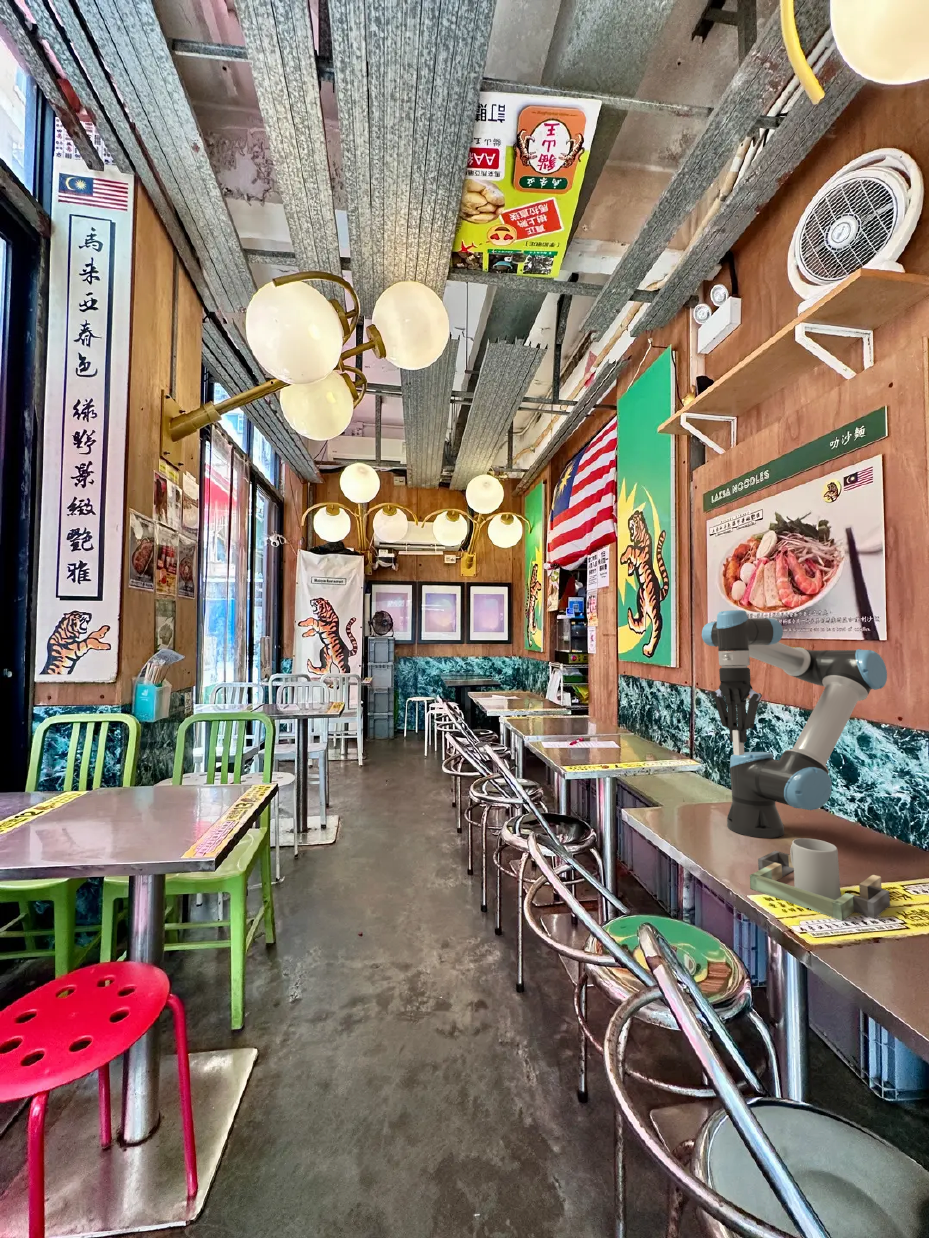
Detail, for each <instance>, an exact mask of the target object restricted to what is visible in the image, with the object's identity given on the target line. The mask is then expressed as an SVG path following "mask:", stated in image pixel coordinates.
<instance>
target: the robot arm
mask: <svg viewBox="0 0 929 1238" xmlns="http://www.w3.org/2000/svg"><path fill="white" fill-rule="evenodd" d="M783 636H784V628H783V625H782V624H781V623H780V621H778V620H777V619H775V618H770V617H769V618H768V617H762V618H760V617H755V618H754V617H753V618H752V617H751V618H750V617H748V613H747V611H745V610H744V609H743V610H741V609H737V610H734V609H733V610H724V611H723V610H722V611H719V612H718V613H717V614H716V621H712V622H707V623H706V624H704V626H703V627H702V630H701V638H702V641H703V642H704V644H705V645H707V646H710V647H715V648H716V647H717V648H718V649H717V650H718V654H717V655H718V665H719V666H720V667H719V669H718V671H719V672H718V673H719V674H718V675H719V681H720V684H719V686H718V689H716V690H715V691H711V693H710V695H711V696H712V698H713V700H714V702H715V705H716V709H717V712H718V715H719V716H718V717H719V719H720V723H721V726H722V727H723V728H724V727H725V728H727V729H728V731H729V740H730V742H732V743H733V745H732V747H733V750H732V751H733V754H731V756H730V759H729V760H730V761H729V762H730V764H729V772H730V773H729V774H730V787H731V803H730V808H729V811H728V814H727V817H726V827H727V828H728V829H729V830H730V831H732V832H734V833H737V834H740V835H743V836H747V837H754V838H762V839H765V838H767V839H768V838H769V839H770V838H771V839H772V838H779V837H783V836H784V835H785V829H784V828H785V826H784V824H783V821H782V818H781V816H780V815H781V814H780V813H779V811H778V808H777V804H776V803H779V804H783V805H787V806H789V807H792V808H794V809H799V810H805V811H806V810H807V811H813V810H815V811H816V810H818V809H821V808H822V807H823V806H825V804H826V803H827V802H828V801H829V799H830V797H831V794H832V791H833V789H832V788H831V787H832V786H833V784H832V779H831V777H830V775H829V773H830V771H829V769H828V766H827V762H828V761H829V759H830V757H831V754H832V752H833V751H834V749H835V747H836V745H837V743H838V741H839V739H840V737H841V735H842V733H843V731H844V729H845V728H846V726H847V724H848V721H849V719H850V718H851V715H852V713H853V711H854V709H855V707H856V705H857V704H858V702H861V701H864V700H866V699H867V698H868V696H869V694H870V692H871V690H873V691H877V690H879V689H880V690H881V689H882V688H883V687H885V686H886V684H887V681H888V680H887V679H888V673H887V672H888V671H887V666H886V663H885V660H884V659H883V658H882V656H881V655H880V654H879V653H878V652H877V651H874V650H871V649H862V648H858V649H855V650H854V649H846V650H845V649H833V650H832V649H831V650H830V649H827V650H826V649H821V650H820V649H819V650H817V649H816V650H815V649H814V650H813V649H806V648H803V647H800V646H799V647H798V646H797V647H792V646H790V645H788V644H784V643H782V642H780V641H781V639H782V638H783ZM750 658H751V659H752V658H753V659H755V660H757V661H760V662H762V663H765V664H768V665H770V666H772V667H773V666H774V667H776V668H779V669H781V670H782V671H783V672H784V673H785V674H786V675H788V676H791V677H793V678H796V679H798V680H801V681H805V682H807V683H809V684H813V685H816V686H821V687H824V689H823V691H822V693H821V695H820V696H819V699H818V701H817V702H816V704H815V706H814V708H813V709H812V712H811V713H810V716H809V717H808V719H807V720H806V723H805V725H804V726H803V729H802V730H801V732H800V734H799V736H798V737H797V740H796V742H795V744H794V745H793V747H792V748H791V749H785V750H784V751H783V753H782V755H781V757H780V758H779V760H777V759H775V758H774V755H773V753H771V752H769V751H768V752H766V751H745V743H747V741H748V739H747V730H751V729H754V726H755V721H756V716H757V711H758V707H759V706H758V705H759V701H760V700H761V699H762V697H763V694H762V693H760V692H756V691H755V690H754V689H753V686H752V684H751V678H752V677H751V668H749V667H748V666H750V665H751V662H750ZM748 698H749V701H748V706H747V699H748ZM746 706H747V707H746Z"/></svg>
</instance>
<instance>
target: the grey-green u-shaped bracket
mask: <svg viewBox="0 0 929 1238" xmlns="http://www.w3.org/2000/svg"><path fill="white" fill-rule="evenodd" d="M757 865H758V867H757V868H758V870H757V871H756V872H755V871H754V872H753V873H751V874H749V884H750V885H749V886H750V890H753V891H756V892H758V893H762V894H764V895H768V896H770V897H774V898H777V899H779V900H781V901H784V902H787V901H788V903H790V904H793V905H797V906H800V907H802V908H804V909H807V908H809V909H808V910H810V909H811V910H810V911H813V910H814V911H813V912H816V911H817V912H816V913H819V912H820V913H819V914H821V915H824V914H827V915H828V917H830V916H831V918H834V919H836V920H838V921H843V920H845V919H846V918H847V917H849V916H851V915H852V914H853V913H856V914H860V915H862V916H865V917H868V918H870V919H871V918H872V919H876V918H877V917H878V916H879V915H881V914H882V913H883V912H884V911H886V910H887V909H888V908H889V907H890V906H891V902H890V901H891V897H890V891H889V890H887V889H883V888H882V887H883V886H882V877H881V876H880V875H875V874H872V875H870V876H869V877H867V878H866V879H865V880H863V881H861V882H860V883H859V884H858V885H859V886H858V888H859V896H858V895H855V894H851V893H849V892H848V893H847V892H846V893H844V894H843V895H842V894H841V897H840V898H838V899H837V900H833V899H830V898H827V897H824V896H821V895H818V894H815V893H812V892H809V891H805V890H802V889H799V888H796V887H795V886H794V885H789V884H786V883H784V882H780V881H778V880H780V879H782V878H784V877H785V876H787V875H789V874H791V873H794V868H793V866H792V862H791V855H790V854H789V853H785V852H781V851H779V850H774V851H772V852H769V853H767V854H765V855H763V856H761V857H759V858H757ZM827 915H826V916H827Z"/></svg>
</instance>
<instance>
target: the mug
mask: <svg viewBox="0 0 929 1238" xmlns="http://www.w3.org/2000/svg"><path fill="white" fill-rule="evenodd" d="M791 843H792V844H791V845H790V852H789V853H790V854H789V855H791V862H792V866H793V868H794V871H793V878H794V879H793V881H794V883H793V884H794V885H793V887H796V888H799V889H802V890H805V891H809V892H812V893H815V894H818V895H821V896H824V897H827V898H830V899H833V900H837V899H838V898H840V897H841V896H842V894H841V892H842V891H841V883H840V882H841V881H840V870H839V869H840V867H839V853H838V852H839V851H838V847H837V846H836V845H835V844H833V843H830V842H827V841H825V840H820V839H816V838H805V837H804V838H801V837H799V838H795V839H793V840H792V842H791Z"/></svg>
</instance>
